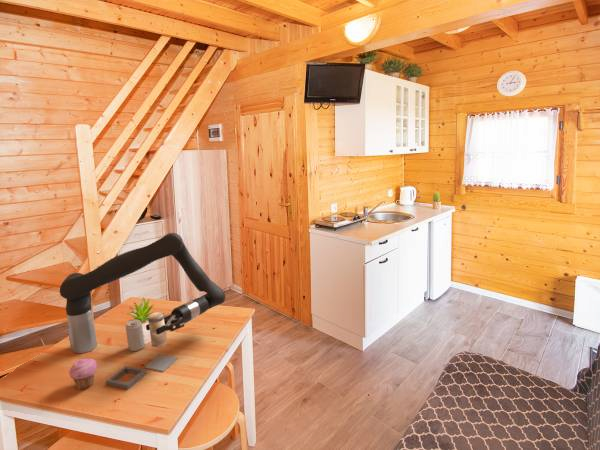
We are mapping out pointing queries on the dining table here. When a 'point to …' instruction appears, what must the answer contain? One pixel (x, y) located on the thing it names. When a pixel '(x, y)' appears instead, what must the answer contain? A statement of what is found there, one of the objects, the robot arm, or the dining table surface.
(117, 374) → the socket collar
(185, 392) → the dining table surface
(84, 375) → the cupcake
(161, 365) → the mat
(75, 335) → the robot arm
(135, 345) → the beverage can
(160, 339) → the beige tall cylinder
